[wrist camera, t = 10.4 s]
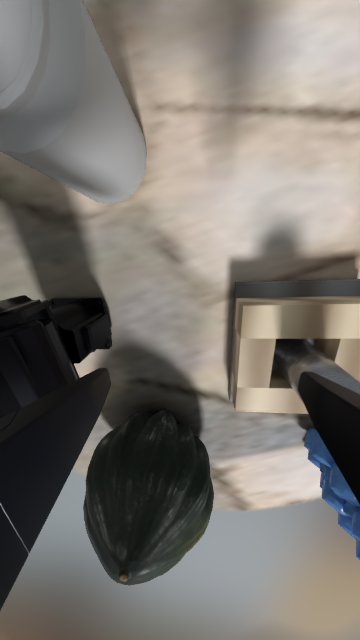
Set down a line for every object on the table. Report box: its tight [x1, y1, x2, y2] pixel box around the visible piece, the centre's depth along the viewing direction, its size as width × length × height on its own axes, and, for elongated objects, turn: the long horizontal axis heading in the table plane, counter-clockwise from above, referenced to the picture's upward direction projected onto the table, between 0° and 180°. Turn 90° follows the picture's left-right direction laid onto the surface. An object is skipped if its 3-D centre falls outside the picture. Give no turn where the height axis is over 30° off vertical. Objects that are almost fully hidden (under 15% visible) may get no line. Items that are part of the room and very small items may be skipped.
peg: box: [273, 339, 360, 402], centre depth 16 cm, size 4×4×10 cm
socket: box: [229, 279, 360, 414], centre depth 20 cm, size 12×15×4 cm
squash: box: [83, 410, 214, 585], centre depth 22 cm, size 14×15×15 cm
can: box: [0, 0, 147, 204], centre depth 11 cm, size 8×8×12 cm
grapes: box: [304, 428, 360, 560], centre depth 20 cm, size 12×7×12 cm, turn 24°
